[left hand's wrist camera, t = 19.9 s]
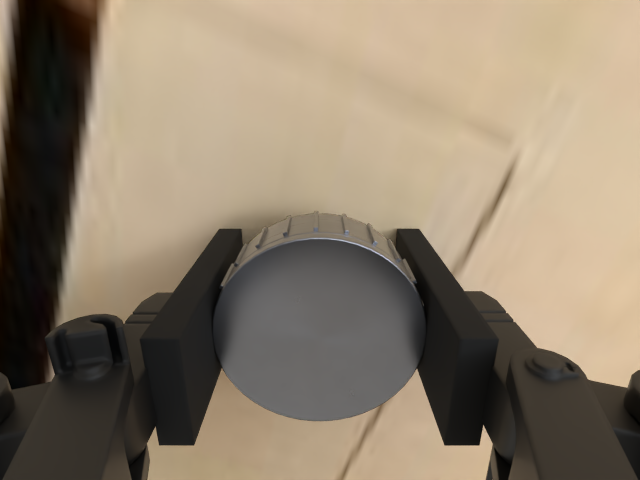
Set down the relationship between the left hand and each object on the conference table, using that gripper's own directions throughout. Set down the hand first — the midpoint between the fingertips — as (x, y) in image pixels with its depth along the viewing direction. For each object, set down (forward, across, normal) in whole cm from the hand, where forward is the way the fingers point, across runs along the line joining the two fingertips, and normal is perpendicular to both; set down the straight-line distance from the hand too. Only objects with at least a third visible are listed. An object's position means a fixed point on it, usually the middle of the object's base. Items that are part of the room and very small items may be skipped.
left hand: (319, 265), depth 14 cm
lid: (-4, 0, 0) cm, 4 cm away
